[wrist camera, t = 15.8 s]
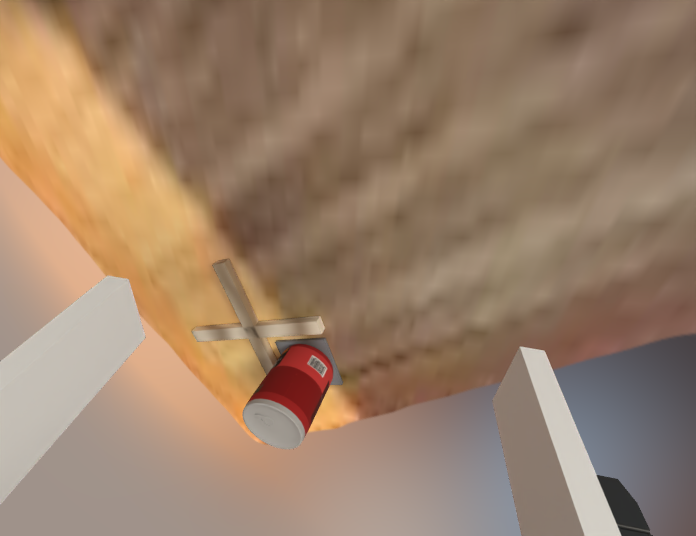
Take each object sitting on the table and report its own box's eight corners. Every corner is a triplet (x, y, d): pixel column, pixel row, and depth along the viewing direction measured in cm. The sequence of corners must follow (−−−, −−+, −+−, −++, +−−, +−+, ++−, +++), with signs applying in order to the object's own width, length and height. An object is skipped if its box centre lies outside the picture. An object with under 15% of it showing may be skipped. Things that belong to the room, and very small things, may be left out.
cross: (228, 385, 61) (224, 390, 60) (165, 270, 53) (159, 274, 52) (347, 385, 52) (344, 391, 51) (293, 247, 44) (288, 251, 43)
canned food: (281, 336, 51) (237, 395, 42) (335, 349, 49) (301, 414, 40) (285, 376, 55) (245, 438, 46) (335, 389, 53) (304, 457, 43)
